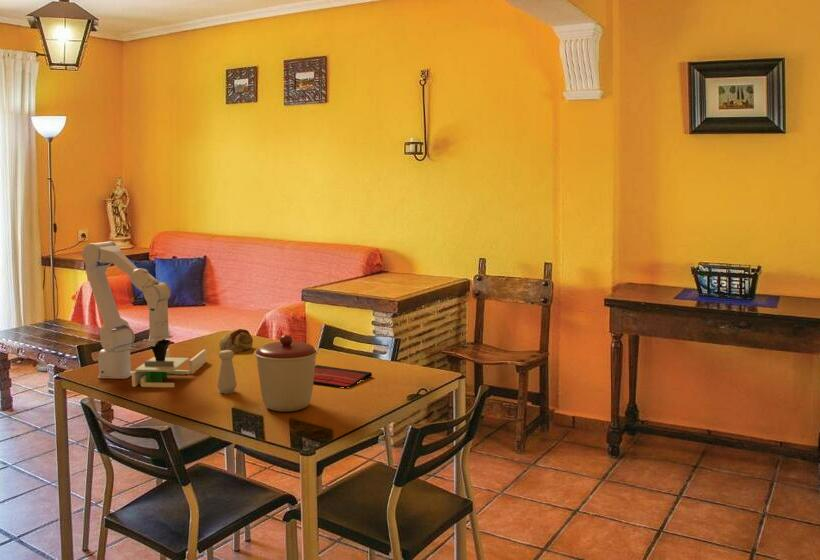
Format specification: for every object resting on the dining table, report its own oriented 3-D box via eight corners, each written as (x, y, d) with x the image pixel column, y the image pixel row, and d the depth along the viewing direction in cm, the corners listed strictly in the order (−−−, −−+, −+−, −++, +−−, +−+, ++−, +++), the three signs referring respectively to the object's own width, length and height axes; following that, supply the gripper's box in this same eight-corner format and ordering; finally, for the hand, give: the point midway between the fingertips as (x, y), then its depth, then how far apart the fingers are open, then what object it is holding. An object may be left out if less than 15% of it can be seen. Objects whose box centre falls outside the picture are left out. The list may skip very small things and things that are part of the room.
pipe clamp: (158, 385, 247) (157, 371, 246) (146, 385, 247) (145, 371, 246) (170, 375, 258) (169, 362, 257) (159, 375, 258) (158, 361, 257)
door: (134, 371, 244) (134, 364, 243) (152, 358, 259) (152, 352, 259) (173, 371, 243) (172, 365, 243) (188, 359, 259) (188, 353, 258)
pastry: (243, 354, 287) (243, 332, 286) (212, 352, 290) (212, 330, 289) (259, 345, 301) (259, 325, 300) (230, 343, 304) (229, 323, 303)
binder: (317, 364, 266) (372, 371, 258) (317, 370, 267) (372, 378, 258) (291, 377, 252) (348, 385, 243) (291, 384, 252) (348, 393, 244)
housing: (132, 386, 244) (131, 372, 244) (167, 361, 275) (166, 348, 275) (176, 387, 244) (176, 373, 243) (206, 362, 275) (206, 349, 274)
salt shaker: (219, 396, 235) (218, 353, 233) (215, 391, 240) (214, 349, 238) (239, 393, 238) (238, 351, 236) (234, 388, 243) (233, 347, 241)
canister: (242, 412, 220) (241, 338, 217) (276, 394, 237) (274, 326, 234) (299, 420, 214) (298, 344, 211) (329, 401, 231) (329, 331, 228)
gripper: (163, 326, 240) (165, 369, 242) (178, 317, 254) (180, 357, 256) (140, 326, 240) (142, 369, 242) (157, 316, 254) (159, 357, 256)
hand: (160, 363), depth 249 cm, fingers closed
